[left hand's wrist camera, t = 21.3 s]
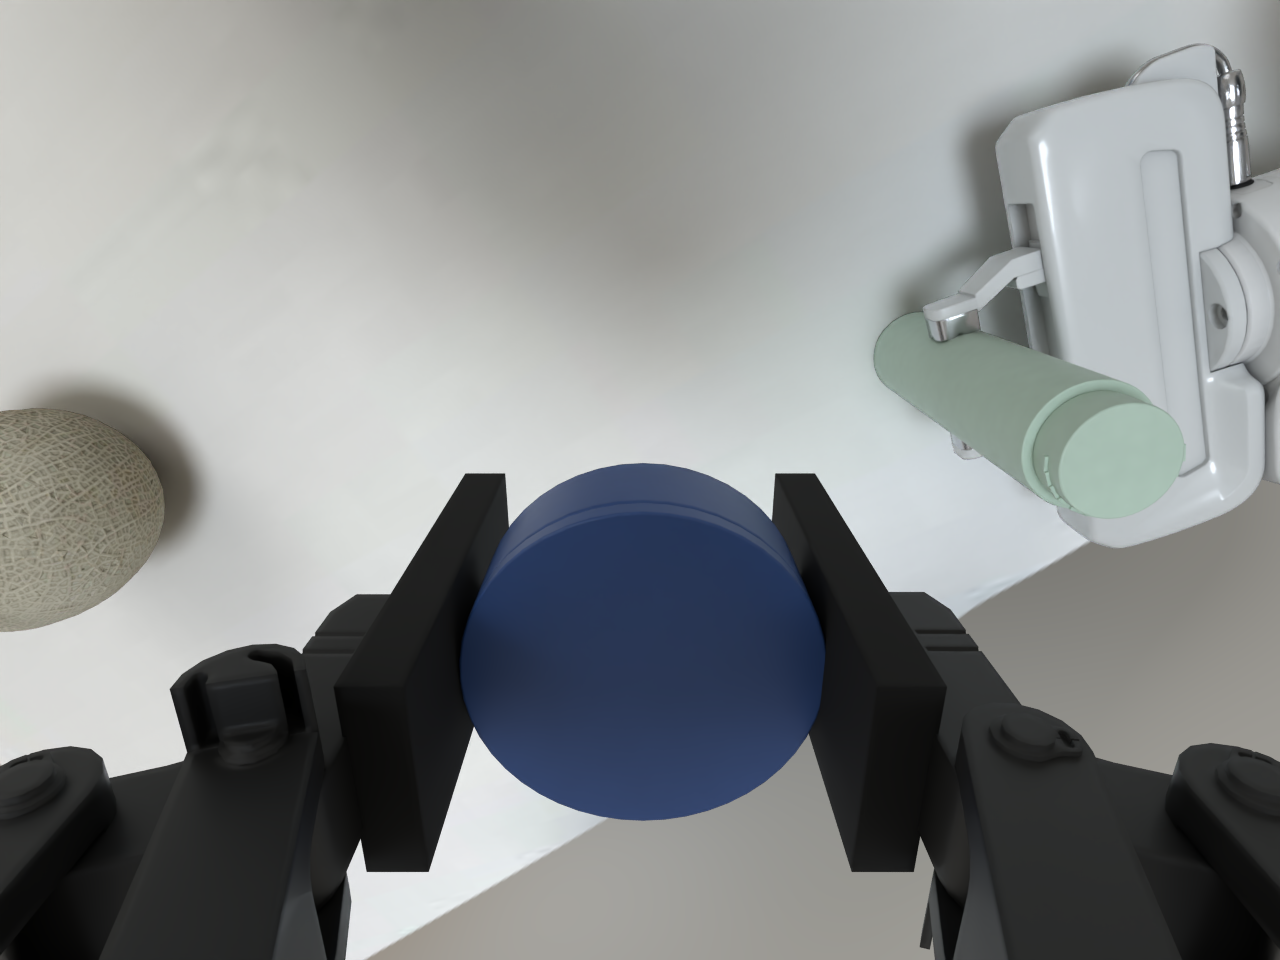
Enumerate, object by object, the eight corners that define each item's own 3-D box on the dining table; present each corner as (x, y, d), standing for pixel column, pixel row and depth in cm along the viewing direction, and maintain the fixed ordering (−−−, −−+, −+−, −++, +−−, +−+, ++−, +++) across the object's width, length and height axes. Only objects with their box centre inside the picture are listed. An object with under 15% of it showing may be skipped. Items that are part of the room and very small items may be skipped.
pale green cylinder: (874, 399, 41) (1045, 538, 24) (871, 318, 39) (1050, 402, 22) (957, 388, 40) (1188, 519, 23) (957, 306, 39) (1205, 381, 22)
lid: (846, 506, 12) (884, 565, 10) (744, 761, 13) (760, 850, 12) (520, 424, 11) (496, 469, 9) (460, 700, 13) (431, 782, 11)
